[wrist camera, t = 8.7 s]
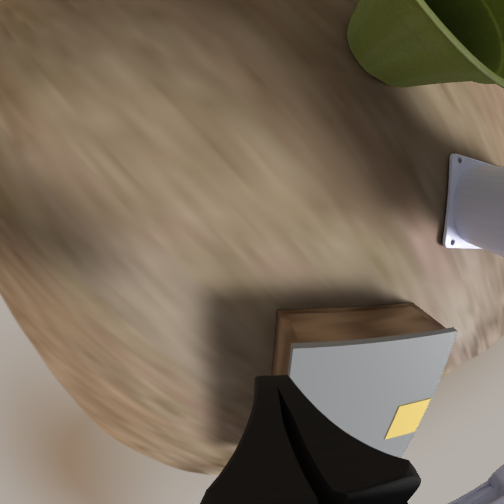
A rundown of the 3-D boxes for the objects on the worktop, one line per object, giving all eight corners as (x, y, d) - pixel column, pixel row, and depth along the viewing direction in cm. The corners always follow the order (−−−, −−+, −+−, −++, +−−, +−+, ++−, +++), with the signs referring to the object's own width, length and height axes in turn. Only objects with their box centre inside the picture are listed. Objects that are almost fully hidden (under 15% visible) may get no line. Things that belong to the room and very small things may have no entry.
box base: (412, 302, 23) (445, 328, 18) (371, 431, 27) (388, 462, 22) (276, 309, 22) (290, 345, 17) (264, 446, 26) (271, 484, 21)
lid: (452, 327, 18) (458, 331, 17) (392, 465, 22) (394, 469, 21) (291, 343, 17) (293, 349, 16) (271, 486, 21) (271, 491, 20)
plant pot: (460, 68, 18) (550, 44, 7) (397, 145, 20) (513, 138, 9) (369, -28, 15) (431, -94, 5) (282, 31, 17) (330, -67, 6)
